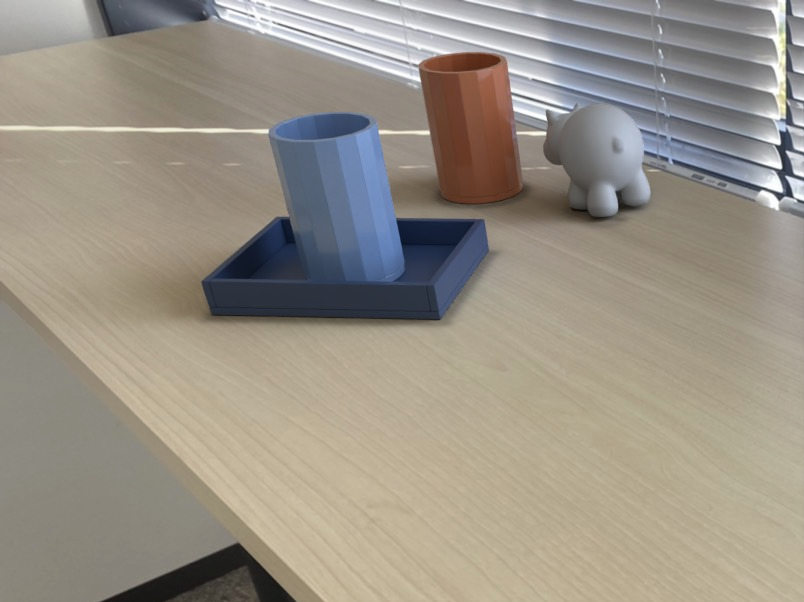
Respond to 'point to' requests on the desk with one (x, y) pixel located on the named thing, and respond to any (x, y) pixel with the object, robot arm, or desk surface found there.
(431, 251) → the blue tray
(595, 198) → the round bodied animal figurine
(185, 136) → the desk surface
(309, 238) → the blue cup
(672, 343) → the desk surface
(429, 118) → the clay cup
